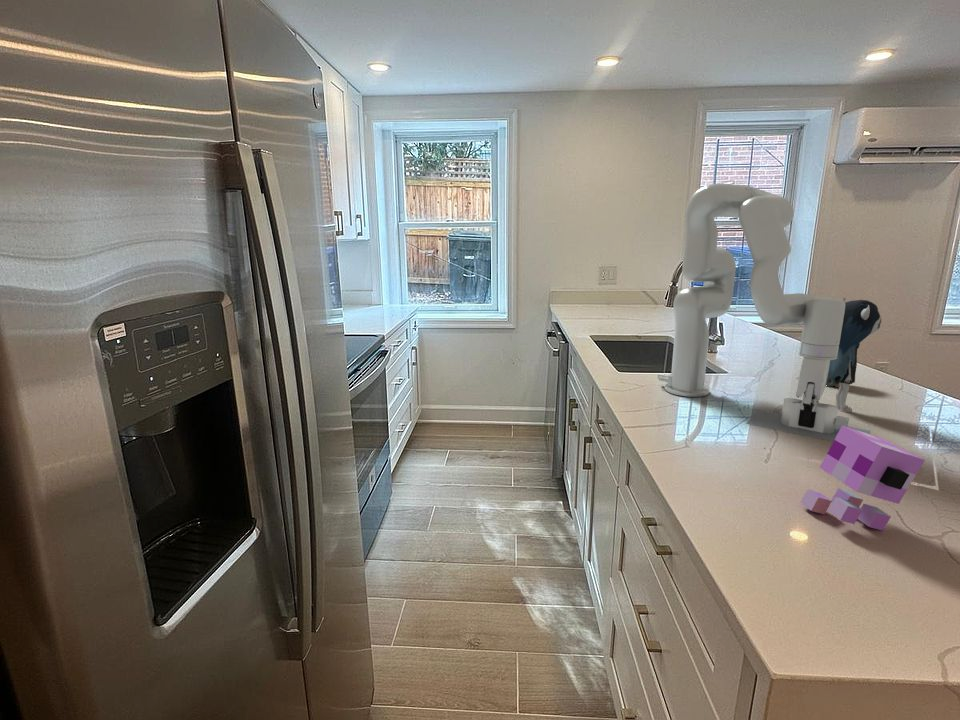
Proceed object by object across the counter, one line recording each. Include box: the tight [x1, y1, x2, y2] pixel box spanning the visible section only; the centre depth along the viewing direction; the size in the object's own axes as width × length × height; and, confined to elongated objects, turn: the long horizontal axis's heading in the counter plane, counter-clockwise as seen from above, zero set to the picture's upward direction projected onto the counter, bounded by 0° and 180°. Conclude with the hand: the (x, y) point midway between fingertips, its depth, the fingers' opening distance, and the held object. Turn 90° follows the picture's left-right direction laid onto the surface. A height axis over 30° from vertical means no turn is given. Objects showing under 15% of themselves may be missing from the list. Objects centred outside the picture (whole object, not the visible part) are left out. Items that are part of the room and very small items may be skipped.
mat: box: [746, 409, 870, 442], centre depth 123 cm, size 24×13×1 cm, turn 50°
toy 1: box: [826, 297, 883, 413], centre depth 131 cm, size 14×11×30 cm
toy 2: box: [800, 426, 925, 531], centre depth 82 cm, size 11×8×15 cm
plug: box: [781, 397, 850, 433], centre depth 121 cm, size 13×4×6 cm, turn 50°
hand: (807, 423), depth 122 cm, fingers closed on plug, 4 cm apart
